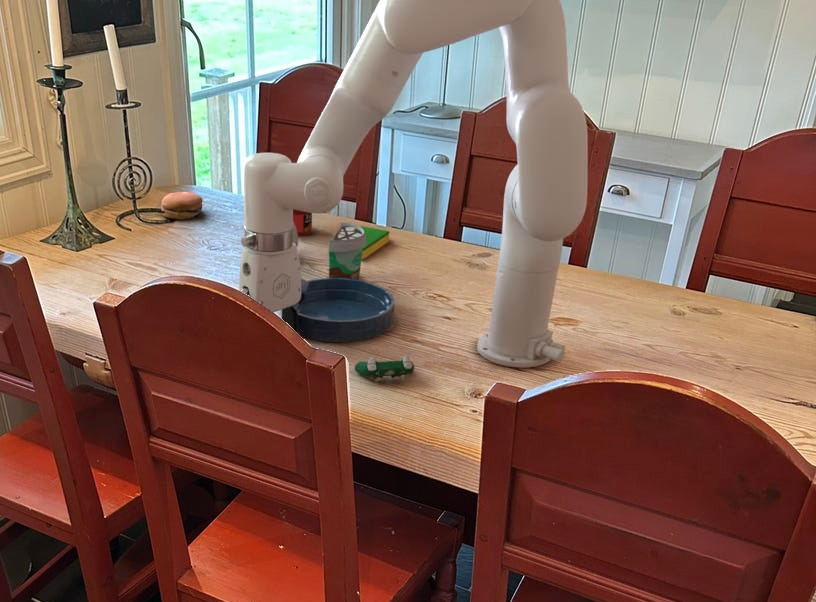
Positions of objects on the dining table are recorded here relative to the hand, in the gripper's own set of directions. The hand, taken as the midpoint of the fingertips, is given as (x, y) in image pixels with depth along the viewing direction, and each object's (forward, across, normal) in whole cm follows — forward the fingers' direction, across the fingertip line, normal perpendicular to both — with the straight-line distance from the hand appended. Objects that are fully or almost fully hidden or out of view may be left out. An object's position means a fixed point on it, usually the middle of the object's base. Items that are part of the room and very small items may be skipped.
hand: (270, 339), depth 142 cm
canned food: (+1, +46, +41) cm, 61 cm away
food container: (+1, +32, +11) cm, 33 cm away
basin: (+1, +16, 0) cm, 16 cm away
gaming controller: (+1, +5, -21) cm, 22 cm away
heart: (+1, +32, +31) cm, 44 cm away
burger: (+2, +35, +68) cm, 76 cm away
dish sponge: (+1, +49, +23) cm, 54 cm away
